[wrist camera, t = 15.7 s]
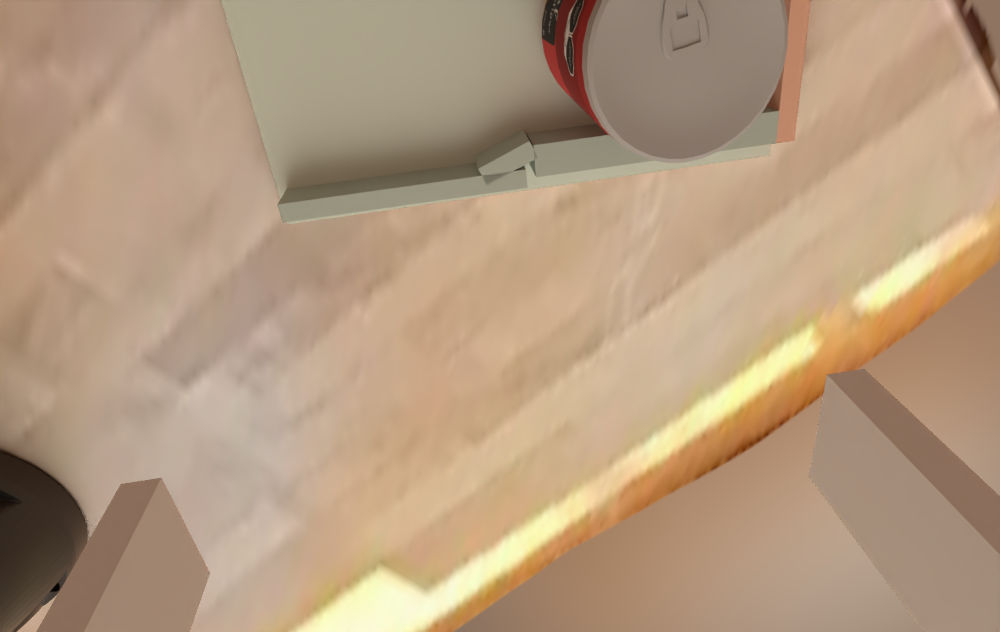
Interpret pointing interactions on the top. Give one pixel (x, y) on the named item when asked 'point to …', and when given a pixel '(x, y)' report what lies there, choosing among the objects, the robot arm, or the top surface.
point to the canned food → (668, 68)
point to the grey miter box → (437, 104)
